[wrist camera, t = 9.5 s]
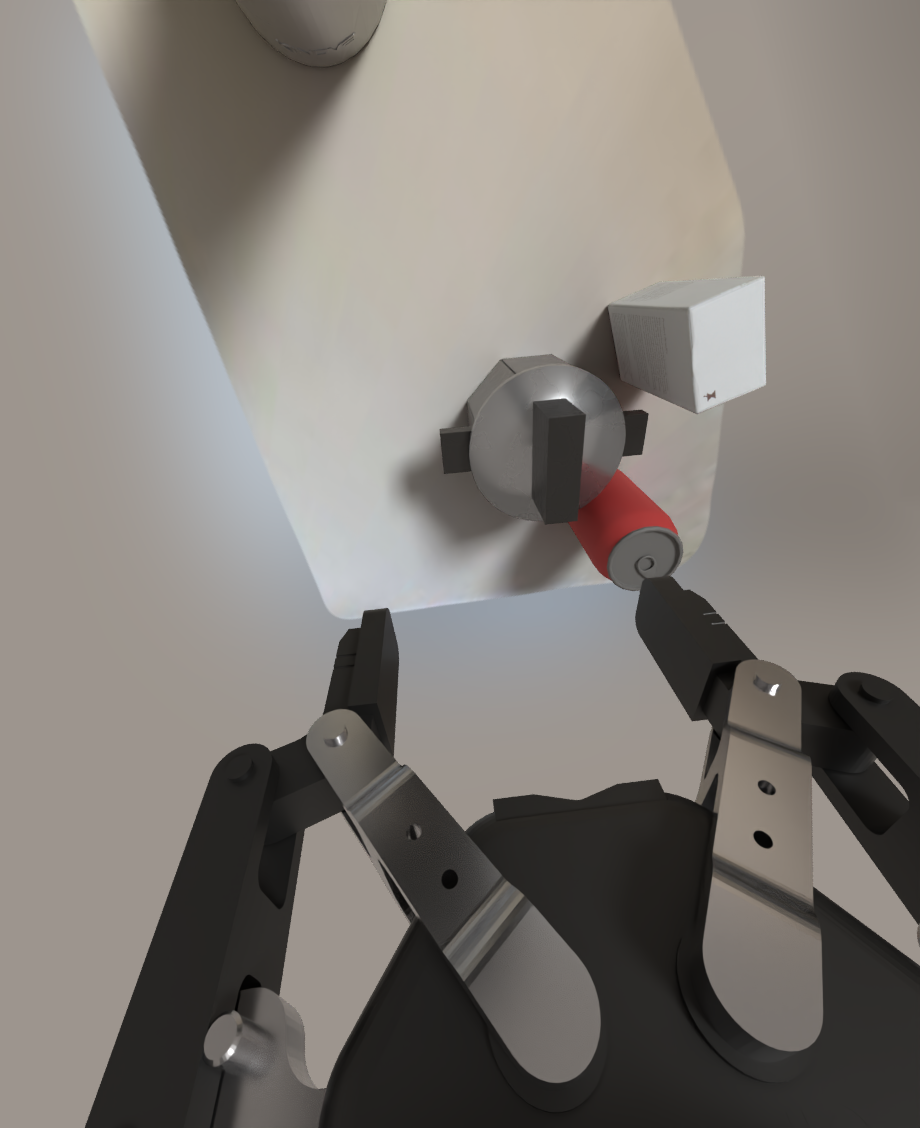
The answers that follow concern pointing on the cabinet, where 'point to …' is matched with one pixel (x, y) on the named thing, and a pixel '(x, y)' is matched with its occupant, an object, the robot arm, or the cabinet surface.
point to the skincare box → (693, 340)
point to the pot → (458, 438)
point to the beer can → (628, 535)
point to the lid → (547, 443)
